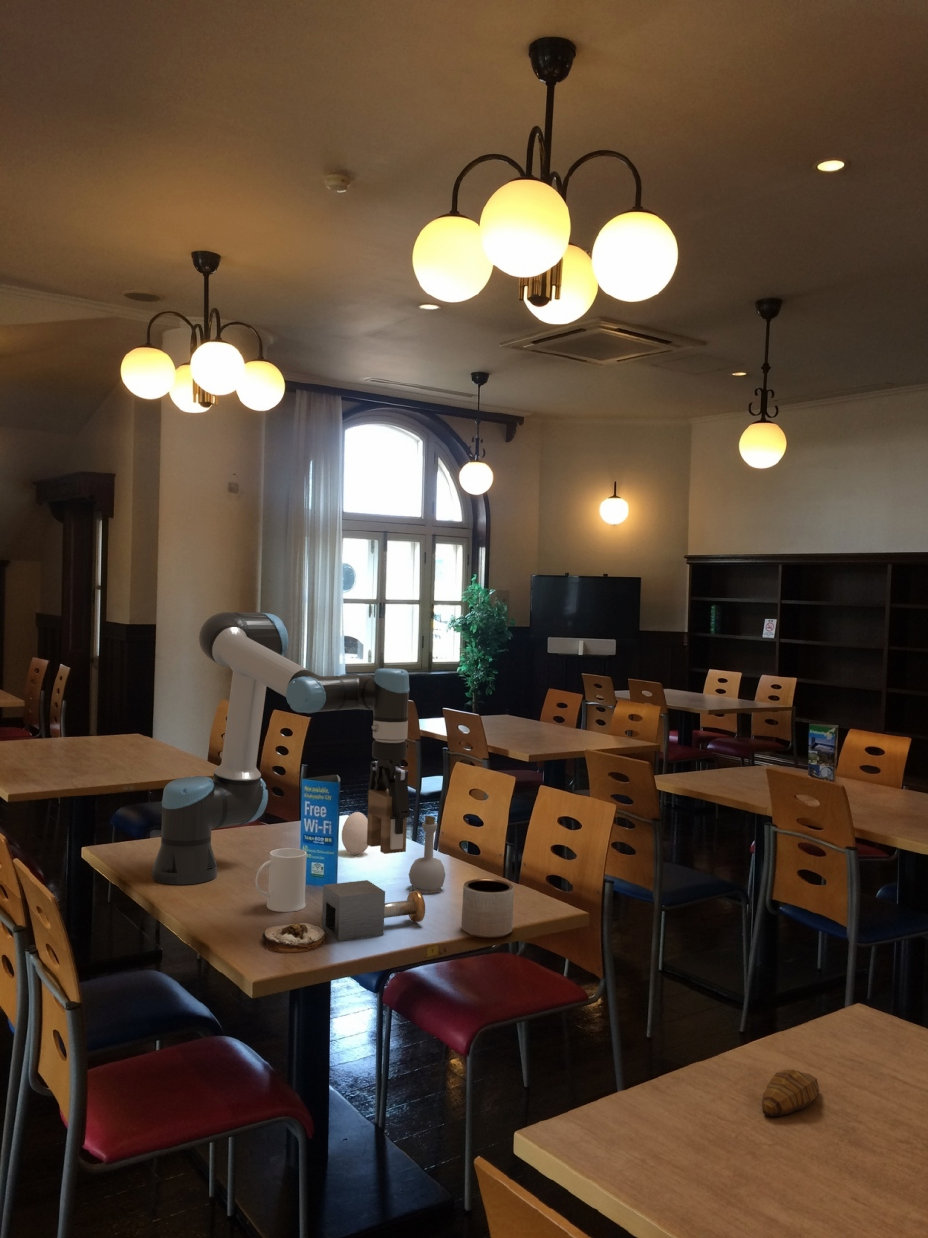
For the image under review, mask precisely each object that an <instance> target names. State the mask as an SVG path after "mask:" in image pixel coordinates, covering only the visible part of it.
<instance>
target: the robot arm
mask: <svg viewBox="0 0 928 1238" xmlns="http://www.w3.org/2000/svg"><path fill="white" fill-rule="evenodd" d="M198 641H199V646H200V649H201V651H202V652H203V654H204V655H205V656H206V657H207V658H208V659H210V660H211V661H213V662H215V663H216V664H218V665H220V666H222V667H229V668H230V669H231V670H232V676H231V677H232V678H231V686H230V692H229V693H230V694H229V700H228V710H227V715H226V724H225V730H224V733H225V734H224V740H223V747H222V754H221V755H222V756H221V763H220V765H218V766H217V767H215V769H214V770H213V777H212V778H213V779H212V778H211V777H209V776H205V775H204V776H203V775H194V776H185V777H184V776H183V777H181V778H177V779H174V780H172V781H170V782H168V783H167V784H166V785H165V787H164V788H163V790H162V791H163V793H162V794H163V795H162V799H161V808H162V810H161V811H162V812H161V814H162V815H161V830H160V831H161V835H160V838H161V839H160V847H159V848H158V852H157V855H156V858H155V860H154V863H153V865H152V871H151V872H152V873H151V878H152V880H153V881H155V882H157V883H161V884H167V885H176V886H177V885H178V886H179V885H182V886H183V885H194V884H195V885H197V884H201V883H202V884H203V883H206V882H210V881H212V880H214V879H215V878H217V876H218V865H217V861H216V858H215V854H214V850H213V847H212V830H215V829H220V828H227V827H232V826H242V825H245V824H247V823H248V824H249V823H252V822H255V821H257V820H258V819H259V818H260V817H261V816H262V815H263V814H264V813H265V810H266V807H267V806H268V801H269V792H268V791H269V790H268V789H266V788H267V785H266V782H265V781H264V780H263V778H261V777H262V773H261V772H260V771H259V769H258V767H257V761H258V753H259V745H260V738H261V732H262V731H261V730H262V723H263V716H264V715H263V714H264V708H265V701H266V692H267V687H268V688H269V689H271V690H273V691H274V692H276V693H278V694H280V695H282V696H283V697H285V698H286V701H287V702H286V703H287V704H288V705H289V706H290V709H291V710H293V711H294V712H296V713H306V714H313V713H317V712H318V713H319V712H320V713H321V712H331V711H344V710H345V711H347V710H367V711H372V712H373V714H372V715H373V716H372V718H373V719H372V720H373V722H372V725H371V729H372V738H373V739H374V740H373V741H372V743H371V747H372V748H371V756H372V758H373V759H376V760H377V761H376V760H375V761H370V768H369V769H370V770H369V771H370V773H369V780H368V787H367V795H366V804H367V805H368V795H369V790H376V791H380V790H387V789H388V790H389V796H391V797H392V813H393V816H391V817H390V819H391V829H390V849H391V850H392V849H402V848H403V827H404V818H406V817H407V818H410V817H411V813H410V812H411V811H410V798H409V797H410V796H409V783H408V781H409V779H408V778H409V770H408V769H402V766H401V765H402V763H401V761H402V760H405V759H406V758H407V755H408V742H407V741H406V740H407V739H408V732H409V731H408V730H409V729H408V727H409V721H408V720H409V718H408V715H409V700H410V698H409V697H410V691H411V690H410V677H409V676H410V675H409V672H408V671H407V670H406V669H404V668H403V669H401V668H390V667H389V668H377V669H376V670H375V671H374V676H371V675H364V674H363V675H362V674H358V673H355V672H354V673H342V674H340V675H324V676H323V675H319V674H316V673H315V672H313V671H311V670H309V669H307V668H306V667H303V666H302V665H299V664H298V663H296V662H294V661H292V660H291V659H288V658H287V657H285V655H286V653H287V651H288V649H289V634H288V631H287V628H286V626H285V625H284V622H283V620H282V619H281V618H279V617H278V616H277V615H276V614H272V613H267V612H259V611H257V612H250V611H249V612H246V611H244V612H243V611H242V612H241V611H240V612H235V611H234V612H232V611H223V612H218V613H215V614H214V615H211V616H210V617H209V618H208V619H206V621H205V622H204V623H203V625H202V626H201V628H200V630H199V636H198Z"/></svg>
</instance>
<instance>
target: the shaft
mask: <svg viewBox="0 0 928 1238" xmlns="http://www.w3.org/2000/svg"><path fill="white" fill-rule="evenodd" d="M422 894H423V893H420V892H419V891H414V890H413V891H410V892H409V893H408V895H407V898H406V900H400V901H399V900H398V901H391V902H385V910H384V919H387V918H395V917H397V918H398V917H404V916H408V918H409V919H410V920H411V922H412V923H421V922H422V921H423V920H424V919H425V916H426V902H425V899H424V895H422Z"/></svg>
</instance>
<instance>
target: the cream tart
mask: <svg viewBox="0 0 928 1238" xmlns="http://www.w3.org/2000/svg"><path fill="white" fill-rule="evenodd" d="M261 938H262V941H263V945H265V946H266V947H267V948H266V949H264V950H266V951H275V952H277V953H301V952H302V953H305V952H307V951H308V952H309V951H314V950H315V949H318V948H321V947H323V946H324V945H325V940H326V939H325V938H326V931H325V930H324V929H322V927H321V926H318V925H314V924H311V923H306V922H300V923H299V922H295V923H289V924H279V925H272V926H268V927H267V928H265V931H264V932H263V933H262V937H261Z"/></svg>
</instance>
